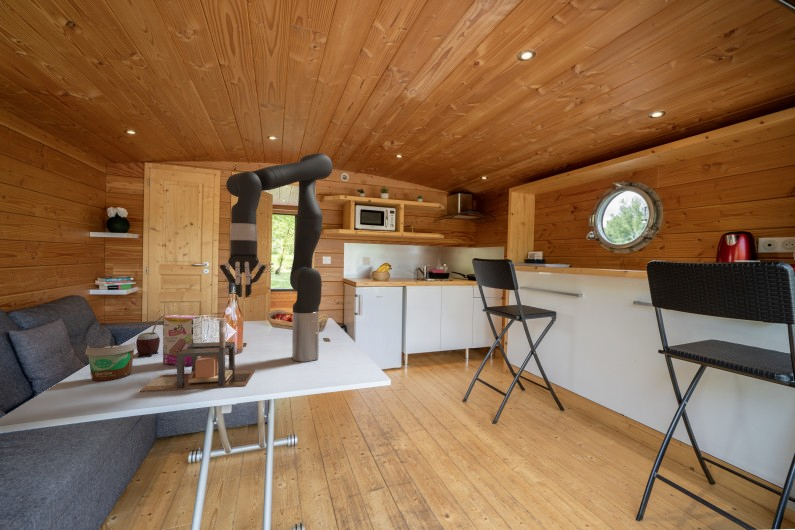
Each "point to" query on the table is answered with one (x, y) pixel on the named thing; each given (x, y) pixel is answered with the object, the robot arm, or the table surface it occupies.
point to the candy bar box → (180, 336)
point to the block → (206, 366)
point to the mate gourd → (148, 343)
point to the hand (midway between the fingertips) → (243, 296)
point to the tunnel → (181, 379)
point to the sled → (221, 345)
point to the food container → (110, 362)
